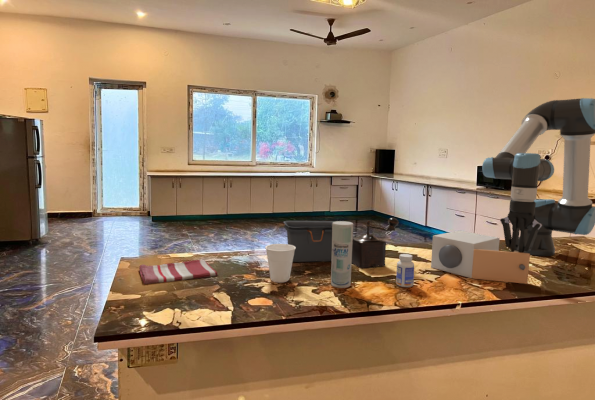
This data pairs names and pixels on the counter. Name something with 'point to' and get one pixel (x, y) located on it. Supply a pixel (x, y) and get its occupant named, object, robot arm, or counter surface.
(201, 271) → the dish towel
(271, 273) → the cup
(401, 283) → the pill bottle
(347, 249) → the spray can
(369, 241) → the dark manual coffee grinder
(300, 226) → the storage bin
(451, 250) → the block
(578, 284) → the counter surface
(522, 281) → the side door
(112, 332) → the counter surface
